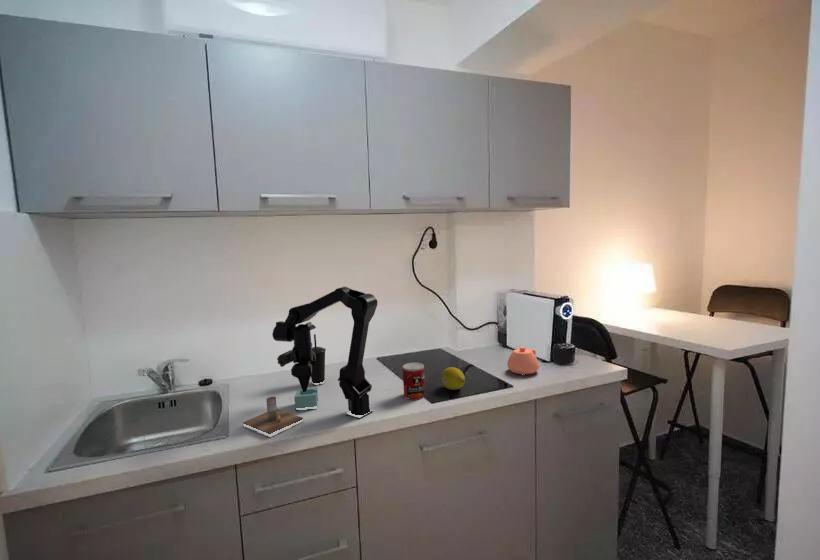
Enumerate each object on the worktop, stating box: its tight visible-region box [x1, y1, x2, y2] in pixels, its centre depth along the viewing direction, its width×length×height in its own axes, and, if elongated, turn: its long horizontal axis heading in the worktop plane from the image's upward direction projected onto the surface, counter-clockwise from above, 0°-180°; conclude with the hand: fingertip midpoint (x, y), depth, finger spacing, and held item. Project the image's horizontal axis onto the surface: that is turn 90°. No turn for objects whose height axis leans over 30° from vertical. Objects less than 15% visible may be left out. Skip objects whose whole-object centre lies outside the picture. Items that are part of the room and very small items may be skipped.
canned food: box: [402, 362, 426, 400], centre depth 144 cm, size 8×8×11 cm
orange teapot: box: [506, 346, 540, 376], centre depth 164 cm, size 12×14×10 cm
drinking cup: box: [310, 333, 326, 383], centre depth 161 cm, size 8×8×20 cm
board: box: [242, 396, 304, 434], centre depth 127 cm, size 14×12×8 cm
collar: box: [294, 387, 319, 408], centre depth 140 cm, size 7×7×5 cm
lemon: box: [440, 366, 466, 391], centre depth 149 cm, size 11×8×8 cm
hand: (306, 386), depth 139 cm, fingers open, 9 cm apart
